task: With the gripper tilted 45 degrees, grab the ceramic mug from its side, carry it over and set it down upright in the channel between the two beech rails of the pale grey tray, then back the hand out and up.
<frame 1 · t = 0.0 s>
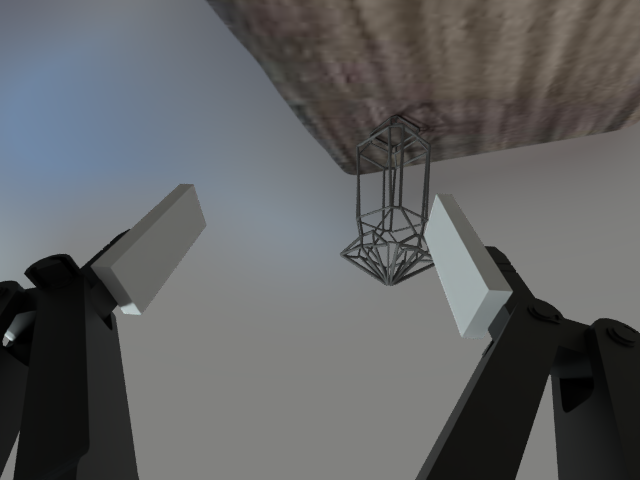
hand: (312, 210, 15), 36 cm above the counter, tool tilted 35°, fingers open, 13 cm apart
geometric lantern: (389, 130, 61), on the counter
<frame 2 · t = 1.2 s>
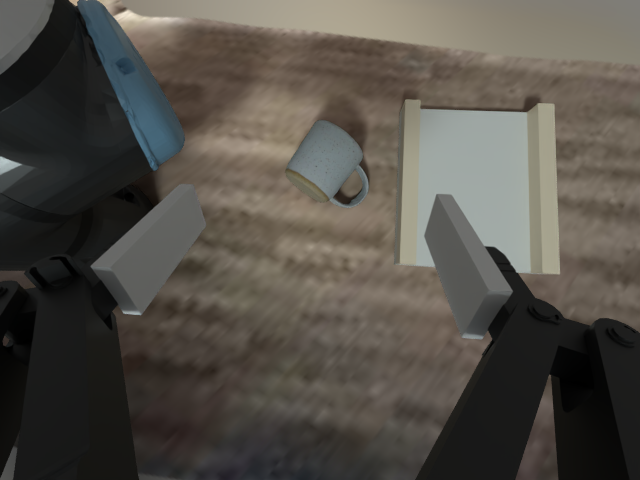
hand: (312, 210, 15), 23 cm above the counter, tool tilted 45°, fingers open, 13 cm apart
rail tray: (466, 189, 37), on the counter
ceramic mug: (332, 178, 39), on the counter
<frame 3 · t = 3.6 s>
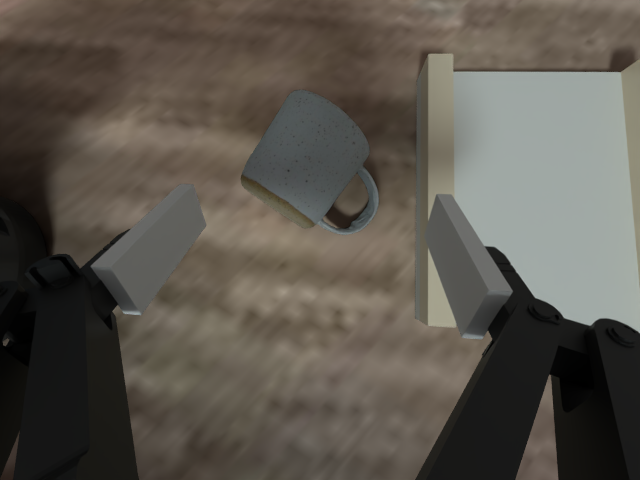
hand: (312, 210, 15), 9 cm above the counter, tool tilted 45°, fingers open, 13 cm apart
rail tray: (525, 196, 24), on the counter
ceramic mug: (321, 187, 25), on the counter
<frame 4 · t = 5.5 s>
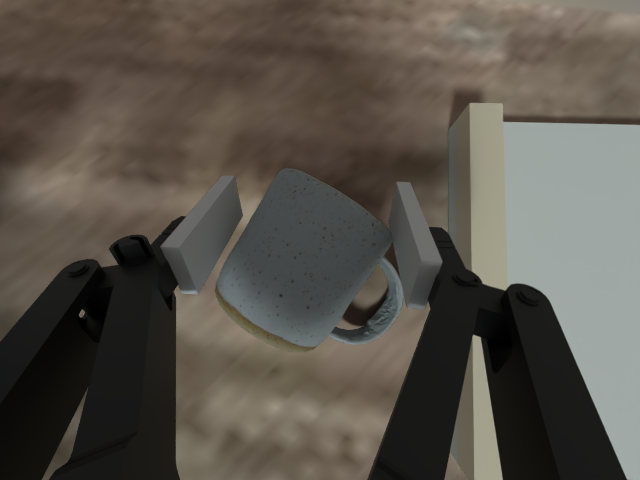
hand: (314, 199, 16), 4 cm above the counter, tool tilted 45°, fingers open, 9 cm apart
rail tray: (592, 286, 18), on the counter
ceramic mug: (325, 270, 20), on the counter, touching gripper
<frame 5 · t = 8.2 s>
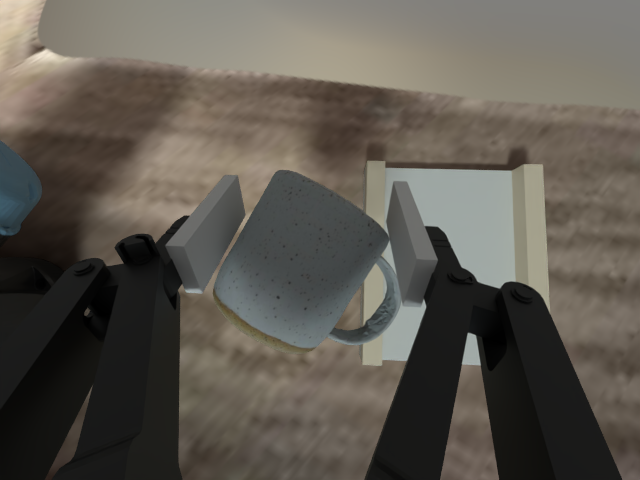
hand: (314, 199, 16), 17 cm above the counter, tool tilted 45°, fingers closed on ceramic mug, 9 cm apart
rail tray: (442, 262, 32), on the counter
ceramic mug: (324, 271, 20), point 13 cm above the counter, touching gripper
when the fingers open (6 cm above the counter, at t = 10.9 s): ceramic mug drops 1 cm, resting on rail tray.
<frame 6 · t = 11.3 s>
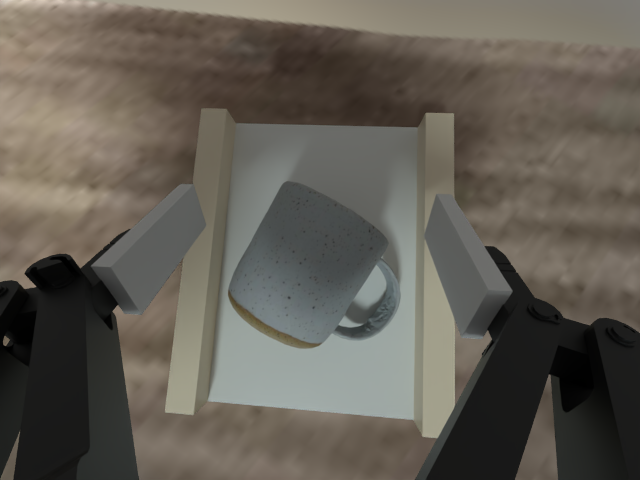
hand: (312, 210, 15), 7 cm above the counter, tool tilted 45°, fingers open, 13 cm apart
rail tray: (318, 259, 22), on the counter
ceramic mug: (327, 272, 21), point 1 cm above the counter, touching rail tray
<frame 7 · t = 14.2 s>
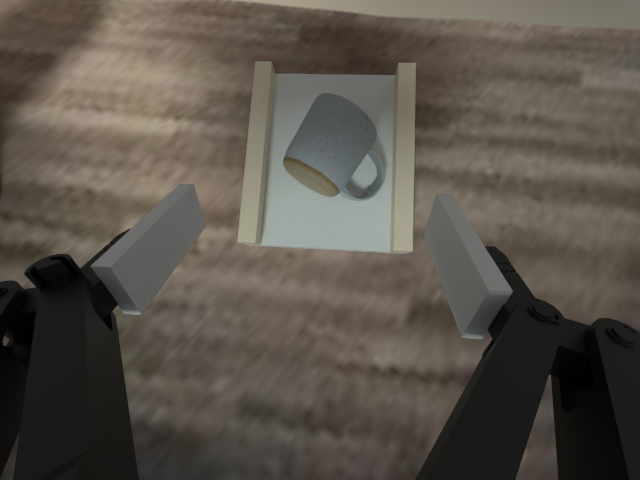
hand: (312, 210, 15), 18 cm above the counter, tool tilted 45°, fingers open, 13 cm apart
rail tray: (329, 161, 34), on the counter
ceramic mug: (339, 168, 33), point 1 cm above the counter, touching rail tray
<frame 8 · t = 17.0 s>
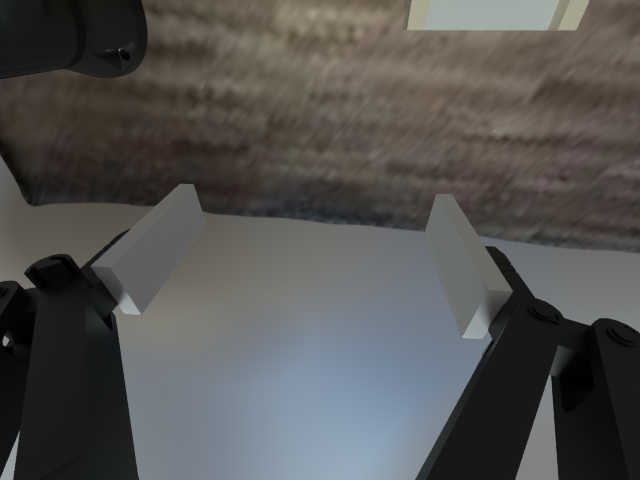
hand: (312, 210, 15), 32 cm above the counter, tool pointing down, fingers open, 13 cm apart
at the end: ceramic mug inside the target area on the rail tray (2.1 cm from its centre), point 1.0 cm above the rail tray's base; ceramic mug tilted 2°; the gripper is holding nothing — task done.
